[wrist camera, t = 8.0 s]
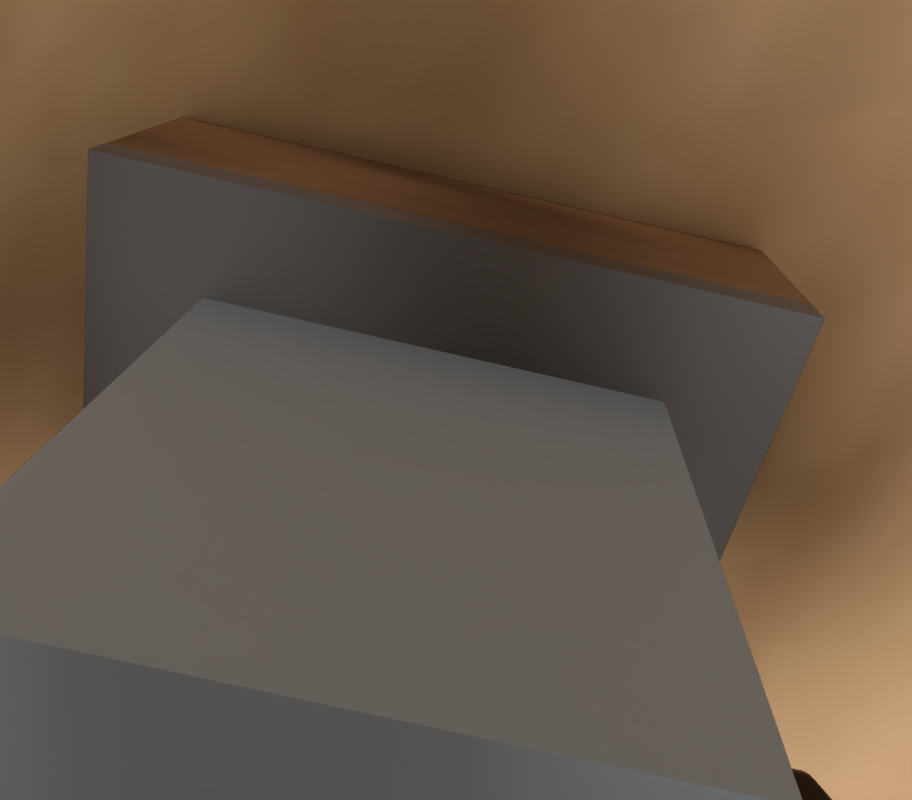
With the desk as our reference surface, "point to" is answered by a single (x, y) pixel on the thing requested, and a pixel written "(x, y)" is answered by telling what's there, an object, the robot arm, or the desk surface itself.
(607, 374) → the base
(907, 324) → the desk surface
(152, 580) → the cube
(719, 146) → the desk surface
